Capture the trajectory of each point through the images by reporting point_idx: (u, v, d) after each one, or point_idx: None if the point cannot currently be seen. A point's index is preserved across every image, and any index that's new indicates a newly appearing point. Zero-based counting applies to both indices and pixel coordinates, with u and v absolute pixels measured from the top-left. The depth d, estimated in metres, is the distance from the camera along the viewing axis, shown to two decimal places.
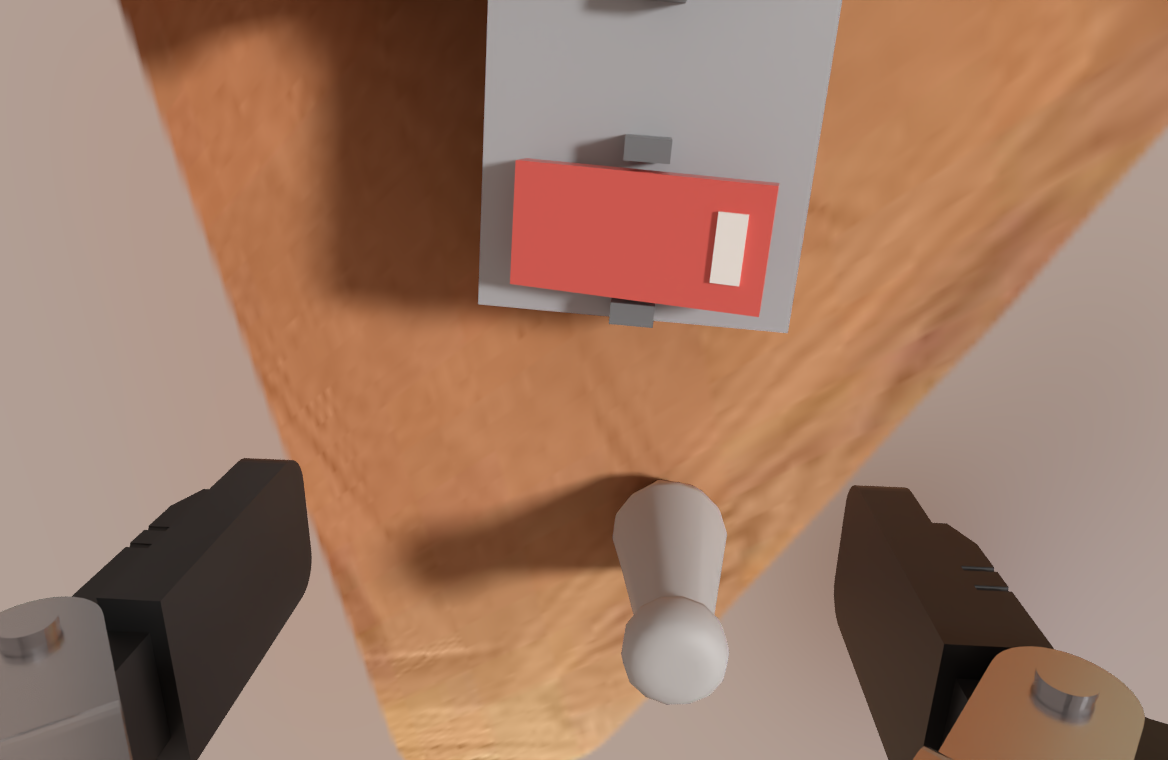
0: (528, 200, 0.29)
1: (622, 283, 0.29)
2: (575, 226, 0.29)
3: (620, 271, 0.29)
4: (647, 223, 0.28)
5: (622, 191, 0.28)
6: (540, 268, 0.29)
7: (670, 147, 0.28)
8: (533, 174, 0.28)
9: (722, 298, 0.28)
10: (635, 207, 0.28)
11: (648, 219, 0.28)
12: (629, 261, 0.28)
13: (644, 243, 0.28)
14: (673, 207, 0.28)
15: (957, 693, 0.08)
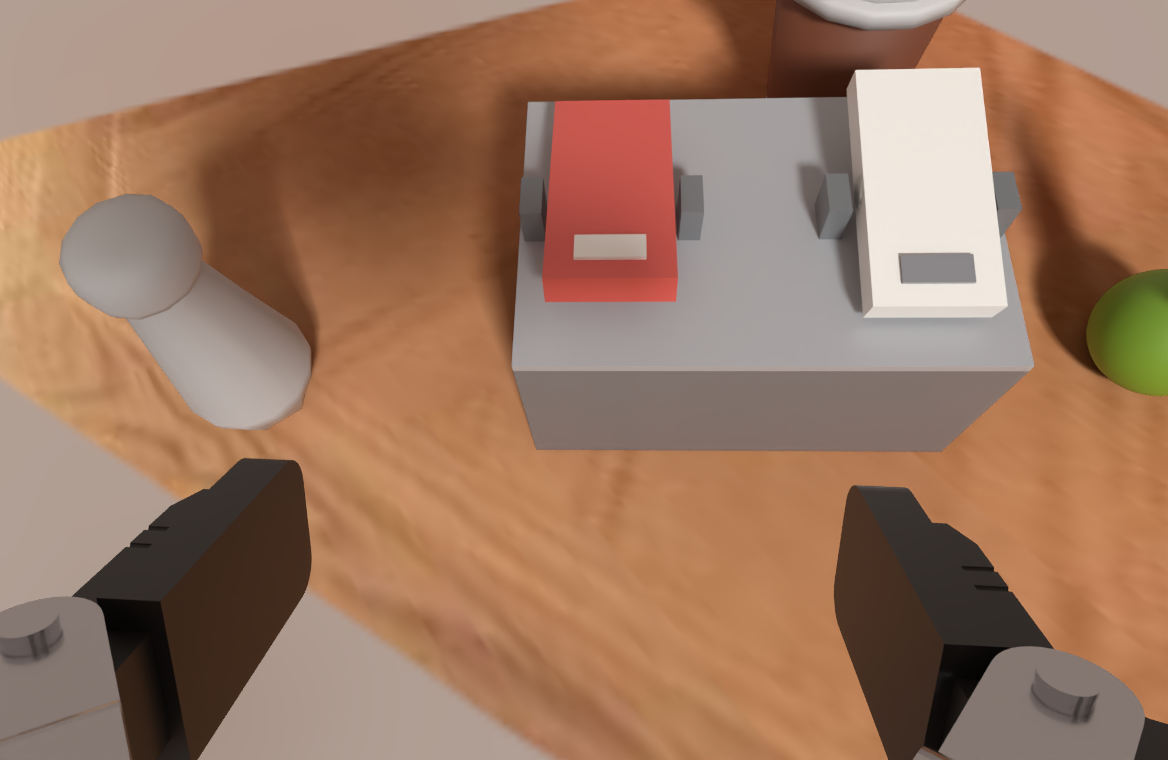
0: (634, 108, 0.31)
1: (564, 177, 0.29)
2: (615, 140, 0.30)
3: (576, 173, 0.29)
4: (626, 188, 0.29)
5: (653, 169, 0.29)
6: (572, 120, 0.31)
7: (697, 211, 0.29)
8: (658, 111, 0.31)
9: (558, 248, 0.27)
10: (640, 178, 0.29)
11: (630, 188, 0.29)
12: (587, 178, 0.29)
13: (606, 187, 0.29)
14: (644, 205, 0.28)
15: (957, 691, 0.08)
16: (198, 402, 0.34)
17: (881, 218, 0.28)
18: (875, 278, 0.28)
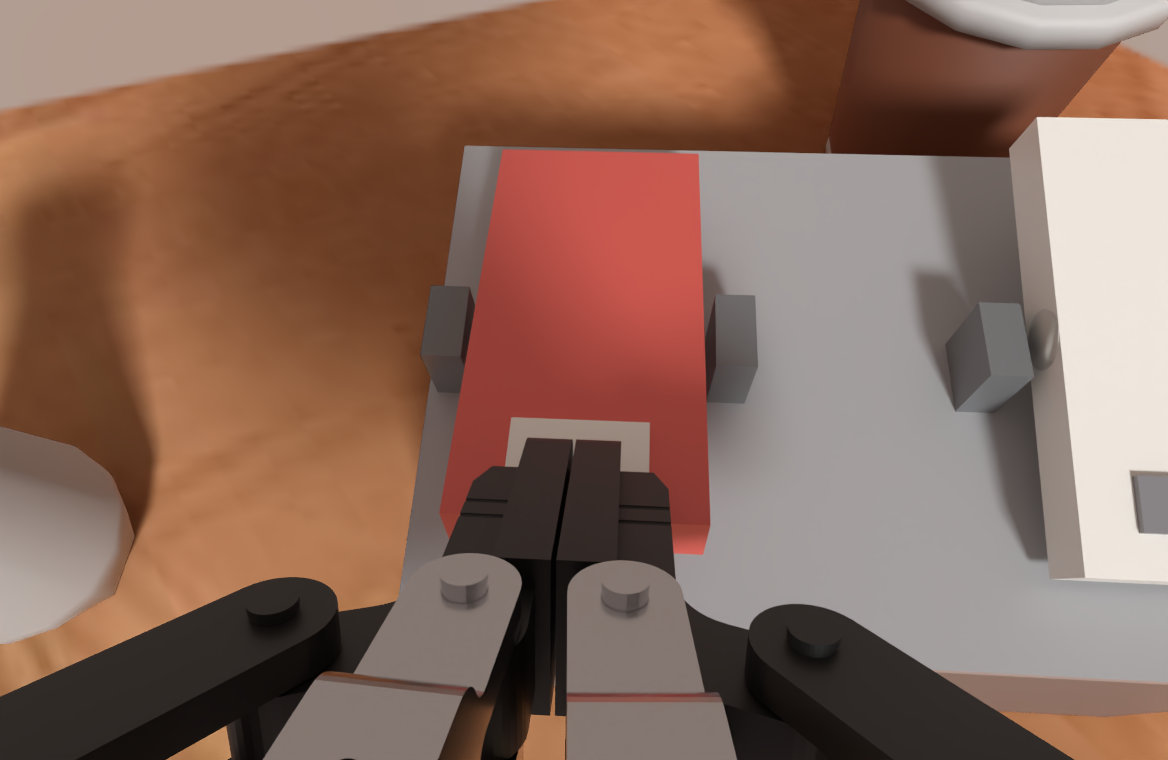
0: (638, 168, 0.18)
1: (505, 292, 0.16)
2: (602, 225, 0.17)
3: (527, 286, 0.16)
4: (616, 320, 0.16)
5: (667, 283, 0.16)
6: (529, 184, 0.18)
7: (744, 364, 0.16)
8: (678, 173, 0.18)
9: (479, 445, 0.14)
10: (642, 302, 0.16)
11: (623, 321, 0.16)
12: (546, 297, 0.16)
13: (579, 317, 0.16)
14: (648, 357, 0.15)
15: None
16: None
17: (1095, 399, 0.15)
18: (1087, 519, 0.14)
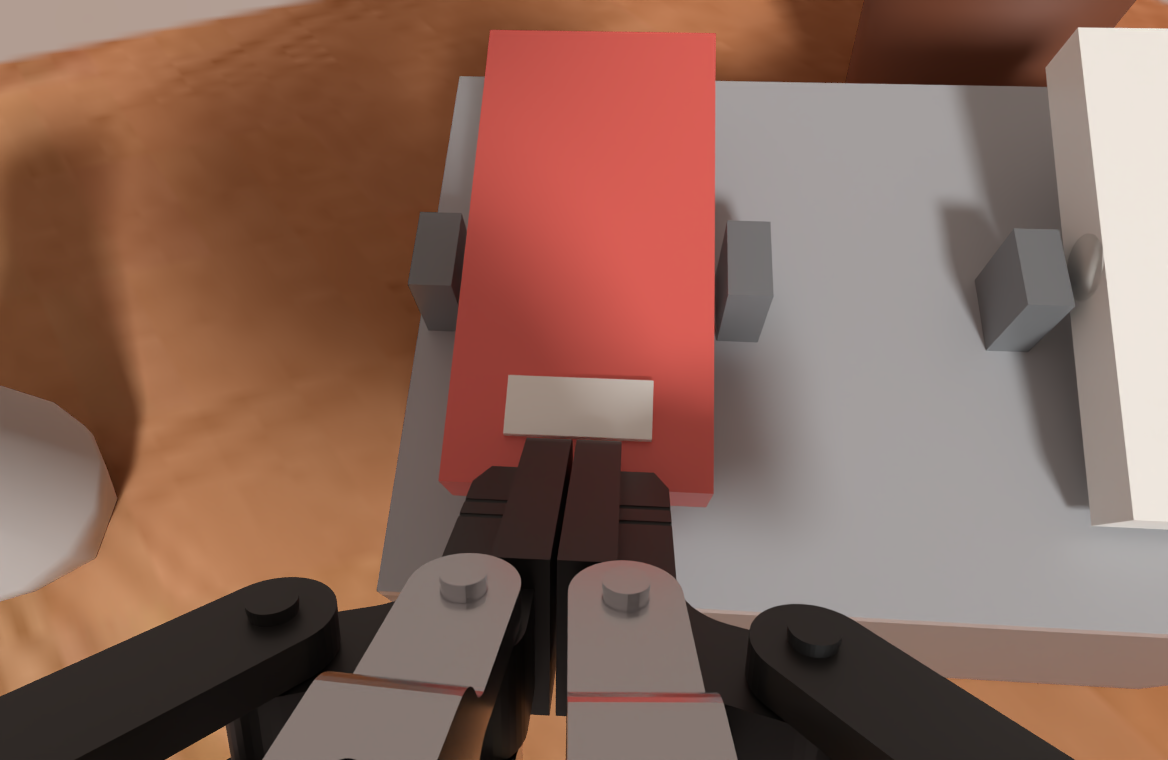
0: (645, 54, 0.16)
1: (499, 219, 0.15)
2: (605, 132, 0.15)
3: (522, 212, 0.15)
4: (619, 254, 0.14)
5: (676, 208, 0.15)
6: (521, 78, 0.16)
7: (759, 294, 0.15)
8: (691, 62, 0.16)
9: (476, 404, 0.14)
10: (647, 232, 0.14)
11: (626, 256, 0.14)
12: (543, 227, 0.15)
13: (579, 251, 0.14)
14: (653, 300, 0.14)
15: None
16: None
17: (1144, 328, 0.14)
18: (1135, 457, 0.13)
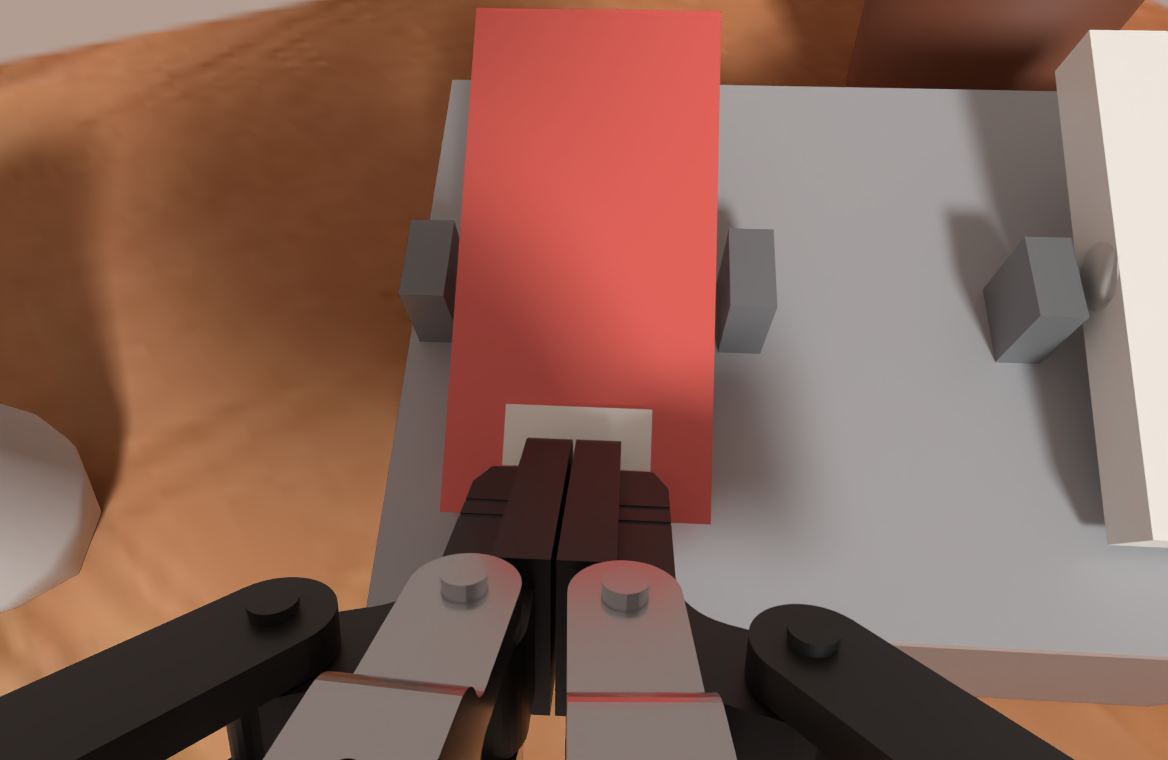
0: (645, 38, 0.14)
1: (491, 229, 0.14)
2: (601, 130, 0.14)
3: (516, 223, 0.14)
4: (617, 271, 0.14)
5: (676, 218, 0.14)
6: (512, 66, 0.15)
7: (762, 304, 0.14)
8: (695, 46, 0.14)
9: (474, 433, 0.14)
10: (647, 245, 0.14)
11: (625, 272, 0.14)
12: (538, 240, 0.14)
13: (576, 268, 0.14)
14: (652, 320, 0.14)
15: None
16: None
17: (1161, 340, 0.13)
18: (1154, 474, 0.13)
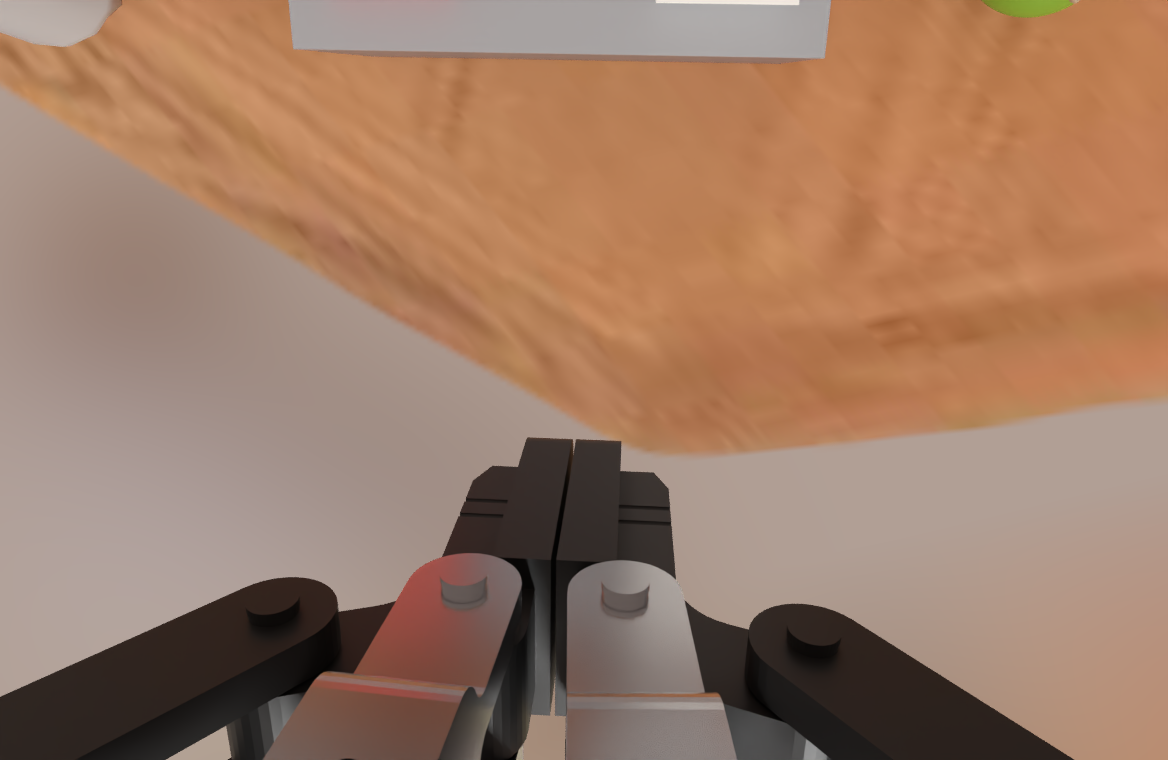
0: None
1: None
2: None
3: None
4: None
5: None
6: None
7: None
8: None
9: None
10: None
11: None
12: None
13: None
14: None
15: None
16: (4, 33, 0.33)
17: None
18: None
